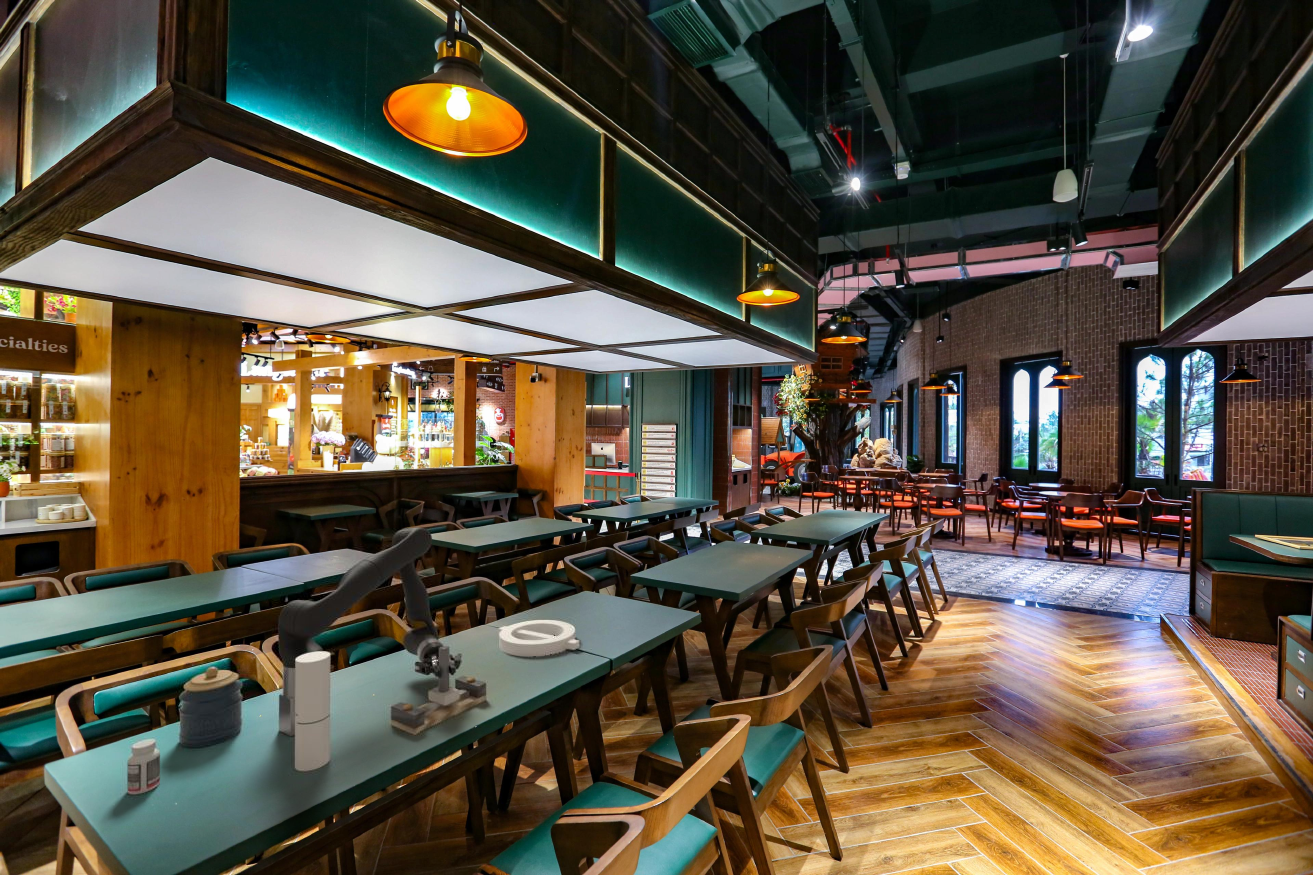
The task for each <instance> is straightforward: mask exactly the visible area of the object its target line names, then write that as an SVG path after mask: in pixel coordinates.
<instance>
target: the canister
mask: <svg viewBox="0 0 1313 875" xmlns="http://www.w3.org/2000/svg"><path fill="white" fill-rule="evenodd" d="M239 677H240V675H239V673H236V672H234V671H231V670H227V669H218V668H217V667H215V666H210V667H208V668H207V669H206V671H205V672H203V673H201V674H198V675H195V676H193V677H192V678H191V679H190V680H189V681H187V682H186V683H185V684H184V685H183V689H184V691H182V692H181V693H180V695H179V700H180V701H181V706H180V707H179V709H178V711H179V733H178V736H179V737H178V739H179V743H180V745H181V746H182V747H185V748H191V749H192V748H204V747H208V746H213V745H217V744H220V743H222V742H225V741H228V740H229V739H232V738H233V737H235V736H236V735H237V734H239V733H240V731H241V729H242V726H243V717H242V709H243V708H242V703H243V701H242V700H243V694H242V693H241V689H242V687H243V682H242V681H240V680H239Z"/></svg>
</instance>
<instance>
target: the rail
mask: <svg viewBox="0 0 1313 875" xmlns="http://www.w3.org/2000/svg"><path fill="white" fill-rule="evenodd" d="M454 688H455V689H458V690H460V699H458V700H456V701H454V702H452V703H450V704H447V705H445V706H444V705H442V704H439V703H436V702H433V701H431V700H430V701H429V702H427V703H425V704H422V705H420V706H417V707H415V706H413V704H412V703H408V704H407V703H405V702H403V701H400V702H397V703H396V704H393V705H391V706H390V726H392V727H395V728H398V729H400V730H403V731H405V732H407V733H410V734H412V735H417V734H419V733H421V732H423V731H425V730H427V729H429V728H431V727H430V726H432V727H433V725H434V726H436V725H437V723H438V724H439V722H440V723H441V721H442V722H444V721H445V720H448V719H450V718H452V717H454V716H456V715H458V714H460V713H462V712H465V711H466V710H468V709H471V708H472V707H475V706H477V705H479V704H481V703H483V702H485V701H487V682H485V681H481V680H478V679H476V678H475V677H472V676H466V675H461V676H458V677H457V678H455V680H454ZM453 715H454V716H453ZM451 716H452V717H451ZM435 724H436V725H435ZM428 727H429V728H428ZM426 728H427V729H426ZM424 729H425V730H424ZM422 730H423V731H422ZM420 731H421V732H420Z"/></svg>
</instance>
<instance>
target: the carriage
mask: <svg viewBox="0 0 1313 875" xmlns="http://www.w3.org/2000/svg"><path fill="white" fill-rule="evenodd" d="M449 654H450V646H448V645H444V646H443V647H440V648H439V667H440V669H441V671H442V677H441V678H438V686H436V687H434V688H432V689H430V690H428V692H427V693H428V700H429V701H430V702H431V701H433V702H436V703H439V704H442V705H444V706H445V705H447V704H450V703H452V702H454V701H456V700H458V699H460V690H458V689H455V687H452V686H450V673H449Z"/></svg>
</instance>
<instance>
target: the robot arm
mask: <svg viewBox="0 0 1313 875" xmlns="http://www.w3.org/2000/svg"><path fill="white" fill-rule="evenodd" d="M432 543H433V536H432V533H431V532H430V531H429V530H428V529H426V528H424V527H412V528H406V529H405V528H404V529H400V530H398V531H396V532H395V533H394V535H393V537H392V539H391V547H389V548H387V549H384V550H382V551H379V552H376V553H375V554H371V555H369V556H368V557H366V558H363V559H362V560H360V561H359V562H357V563H356V564H354V565H353V566H352V567H350V568H349V569H348V570H347V571H346V572H345V573H344V574H343V576H342V578H341V580H340V582H339V585H338V587H337V588H336V589H335V590H333V591H332V592H331V593H330V594H328V595H327V596H325V597H324V598H322V599H320V600H317V601H312V600H305V599H301V600H300V599H297V600H291V601H290V602H288V603H287V604H285V606H284V607H283V608H282V610H280V614H279V615H278V616H279V617H278V620H277V621H278V623H277V633H278V634H277V635H278V637H277V638H278V652H279V655H280V657H281V659H282V692H281V693H280V694H279V695H278V731H280V732H281V733H283V734H286V735H287V736H288V737H292V736H295V659H296V658H297V657H299V656H301V655H303V654H306V653H311V652H318V651H324V650H323V648H322V646H320V645H319V644H318V643H317V642H316V641H315V640H314V638H317V637H318V636H320V635H322V633H324V632H325V631H327V630H328V629H329V628H330V627H331V626H333V625H334V623H335V622H336V621H338V619H339V618H340V617H341V616H343V615H344V614H345V613H346V612H347V611H349V610H350V608H352V607H354V606H355V604H357V603H358V602H360V601H361V600H362V599H364V598H365V597H366V596H367V595H369V594H370V593H372V592H373V591H374V590H376V589H377V588H378V587H379V586H382V584H383V583H384V582H386V581H387V580H388V579H389V578H391V577H392V576H394V575H395V574H396V573H397V572H398V573H399V577H400V581H401V583H402V587H403V593H404V600H405V602H404V603H405V611H406V618H407V621H409V622H421V623H423V624H424V626H421V627H417V628H413V629H410V630H408V631H406V632H405V633H404V636H403V640H402V642H403V647H404V649H405V651H407V652H408V653H409V654H411V655H414V656H417V657H418V659H419V661H416V662H414V672H416V673H418V674H422V675H425V676H429V675H431V674H432V675H434V676H435V677H436V678H438V679H439V678H441V677H442V671H441V669H440V667H439V648H440V647H443V646H445V645H444V644H443V643H442V642H441V641H440V640H439V636H440V635H439V632H438V630H437V627H436V626H435V624H434V621H433V618H432V615H431V610H430V600H429V594H428V590H427V588H426V585H425V584H424V582H423V580H422V578H421V577H420V576H419V574H418V572H417V570H416V566H415V563H414V561H415V560H416V559H418V558H420V557H422V556H423V555H424V554H426V553H427V552H428V551H429V549H430V548H431V546H432ZM462 655H463V654H462V653H457V654H456V655H454V656H453V655H452V654H451V653H449V675H451V676H454V675H455V674H456V672H457V670H459V668H460V666H462V662H463V661H462V660H463V659H462V658H463V656H462Z"/></svg>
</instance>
